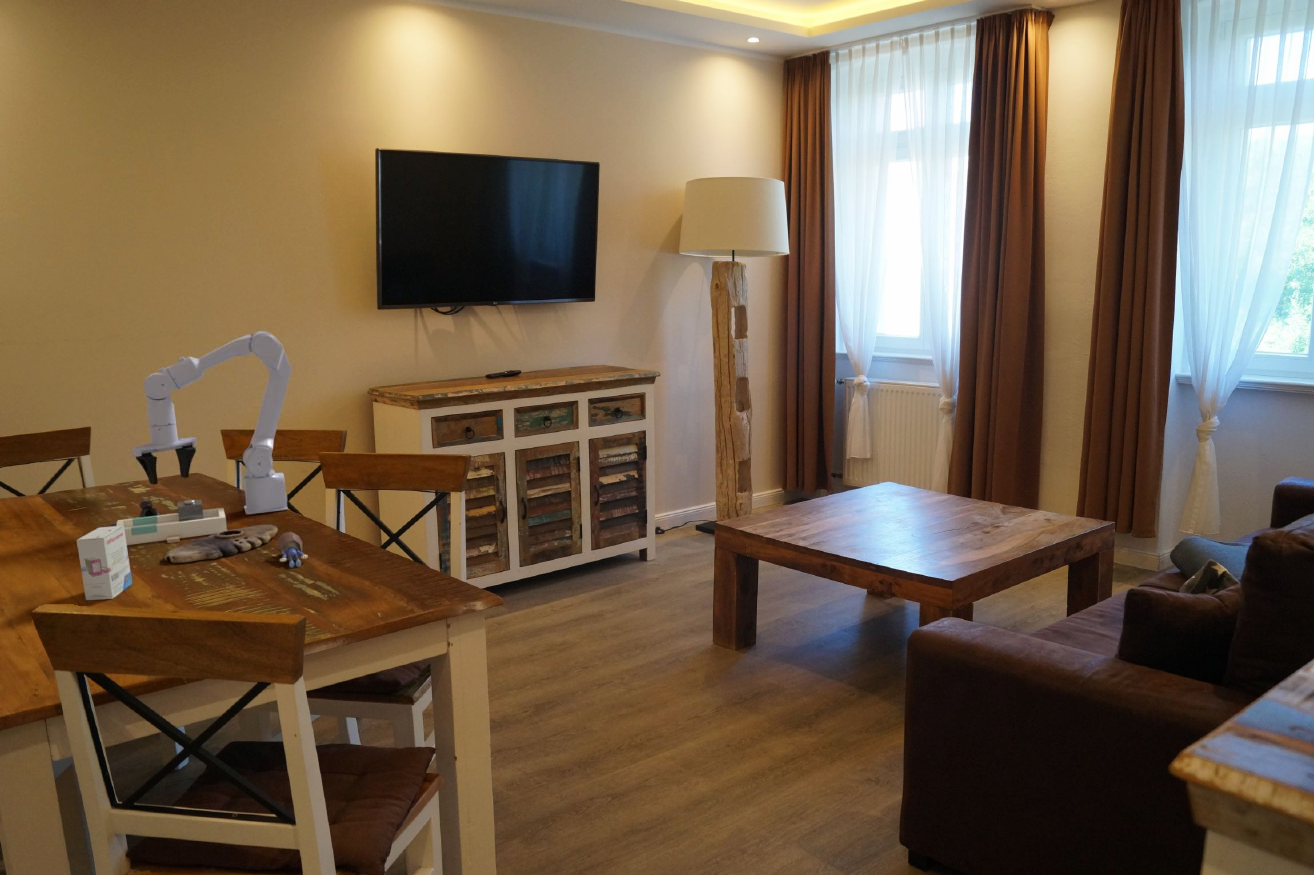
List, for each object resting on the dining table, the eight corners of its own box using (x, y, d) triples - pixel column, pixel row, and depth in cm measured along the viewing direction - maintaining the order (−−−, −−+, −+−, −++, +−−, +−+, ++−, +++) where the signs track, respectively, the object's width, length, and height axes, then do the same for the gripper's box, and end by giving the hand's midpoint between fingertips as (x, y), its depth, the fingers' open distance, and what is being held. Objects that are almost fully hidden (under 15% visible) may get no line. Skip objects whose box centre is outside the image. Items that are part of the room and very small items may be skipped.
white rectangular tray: (224, 522, 229) (223, 507, 229) (227, 535, 218) (226, 520, 217) (119, 535, 220) (117, 520, 219) (116, 549, 208) (114, 534, 207)
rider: (203, 518, 225) (201, 497, 224) (204, 523, 220) (201, 501, 219) (179, 521, 222) (177, 499, 222) (179, 526, 218) (177, 504, 217)
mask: (146, 546, 202) (253, 513, 222) (149, 561, 202) (255, 528, 222) (185, 557, 194) (293, 522, 214) (188, 573, 194) (295, 537, 214)
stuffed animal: (190, 518, 230) (141, 498, 222) (168, 556, 228) (118, 536, 220) (174, 509, 238) (127, 489, 230) (154, 545, 236) (105, 526, 228)
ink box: (106, 585, 185) (98, 525, 183) (133, 584, 185) (126, 524, 183) (83, 600, 176) (75, 538, 174) (112, 599, 177) (104, 537, 175)
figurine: (311, 573, 196) (302, 549, 206) (309, 550, 194) (300, 527, 204) (282, 578, 193) (274, 553, 203) (280, 554, 191) (273, 531, 202)
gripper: (182, 418, 235) (189, 472, 238) (122, 428, 224) (130, 485, 226) (199, 420, 231) (205, 475, 234) (138, 430, 220) (146, 488, 222)
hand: (169, 480), depth 230 cm, fingers open, 7 cm apart
